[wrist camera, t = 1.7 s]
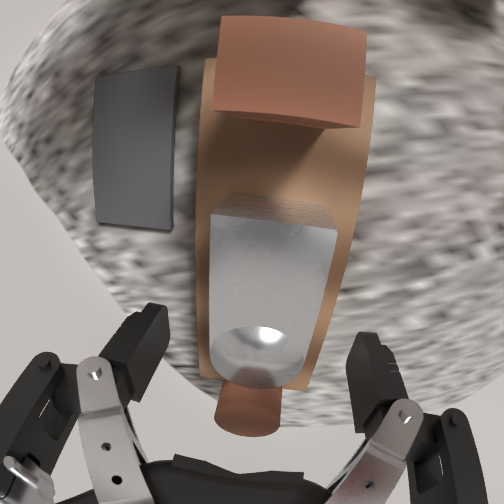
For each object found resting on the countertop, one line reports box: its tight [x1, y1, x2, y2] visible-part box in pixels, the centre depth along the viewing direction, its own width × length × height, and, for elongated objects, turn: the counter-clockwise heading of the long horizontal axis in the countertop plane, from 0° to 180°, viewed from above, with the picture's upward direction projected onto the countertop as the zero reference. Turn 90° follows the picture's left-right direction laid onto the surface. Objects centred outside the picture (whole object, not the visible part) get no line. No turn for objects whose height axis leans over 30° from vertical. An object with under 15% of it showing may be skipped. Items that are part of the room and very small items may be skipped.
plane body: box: [195, 15, 376, 437], centre depth 15 cm, size 23×9×11 cm, turn 175°
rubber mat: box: [93, 66, 180, 230], centre depth 18 cm, size 12×7×1 cm, turn 175°
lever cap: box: [209, 193, 338, 389], centre depth 15 cm, size 11×5×4 cm, turn 175°
